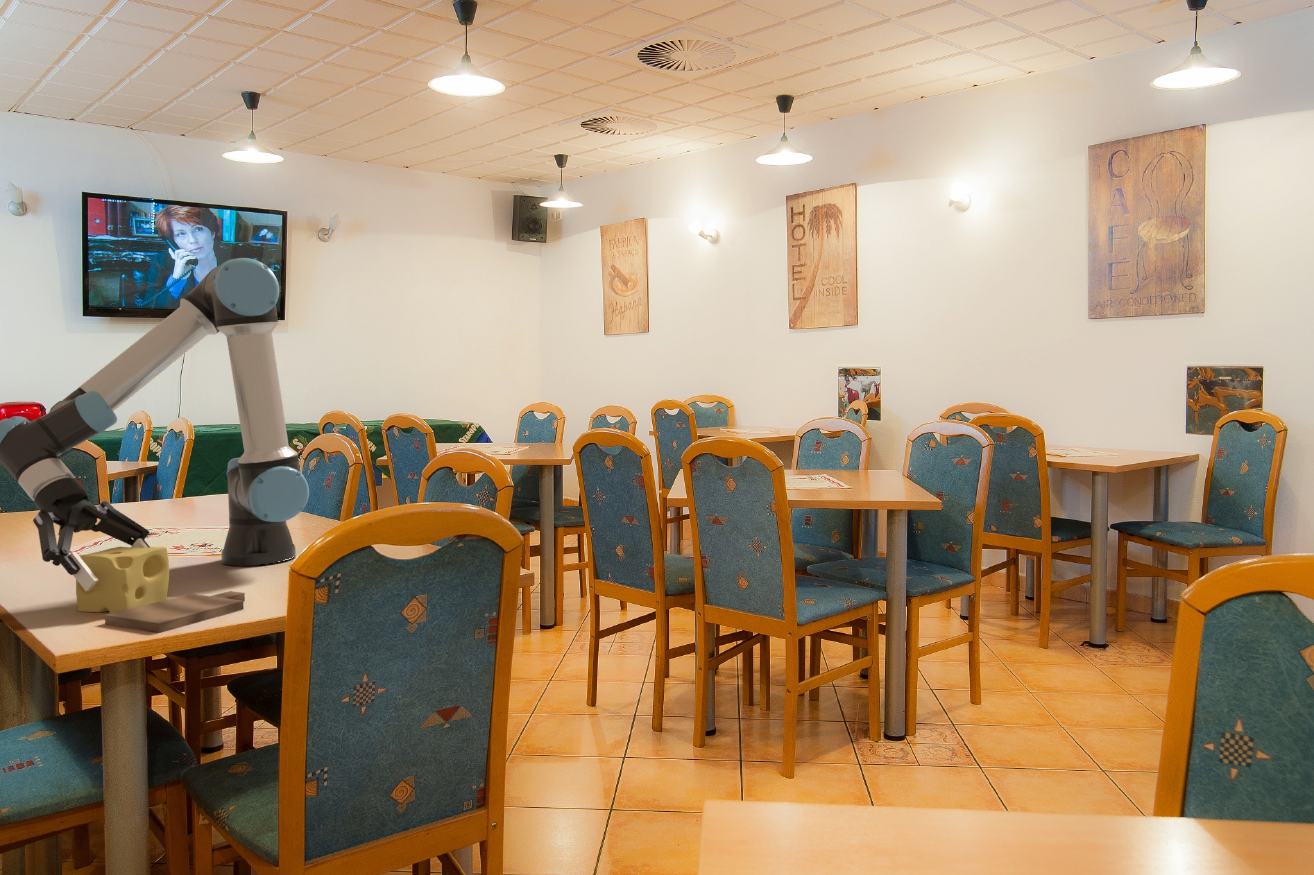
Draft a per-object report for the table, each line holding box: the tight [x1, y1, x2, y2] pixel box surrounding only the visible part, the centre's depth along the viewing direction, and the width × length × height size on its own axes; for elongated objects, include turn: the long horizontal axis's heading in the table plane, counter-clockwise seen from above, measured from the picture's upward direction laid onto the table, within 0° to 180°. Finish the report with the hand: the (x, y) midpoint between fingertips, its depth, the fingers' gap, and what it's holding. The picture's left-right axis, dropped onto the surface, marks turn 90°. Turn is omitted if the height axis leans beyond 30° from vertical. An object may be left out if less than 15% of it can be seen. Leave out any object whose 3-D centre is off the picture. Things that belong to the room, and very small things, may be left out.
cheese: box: [75, 546, 170, 614], centre depth 158 cm, size 10×11×10 cm
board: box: [104, 590, 246, 633], centre depth 153 cm, size 20×13×2 cm, turn 156°
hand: (125, 577), depth 157 cm, fingers open, 13 cm apart
